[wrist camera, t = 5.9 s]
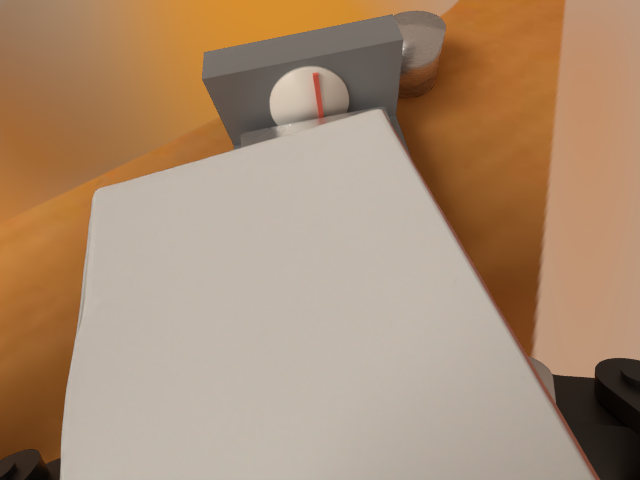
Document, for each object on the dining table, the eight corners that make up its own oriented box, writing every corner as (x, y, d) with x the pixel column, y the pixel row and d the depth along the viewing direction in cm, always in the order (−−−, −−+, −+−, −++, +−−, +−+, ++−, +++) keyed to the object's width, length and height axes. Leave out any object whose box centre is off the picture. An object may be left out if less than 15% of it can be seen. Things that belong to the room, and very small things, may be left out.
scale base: (246, 304, 19) (189, 248, 13) (243, 141, 25) (203, 52, 19) (439, 271, 18) (475, 197, 12) (385, 114, 25) (392, 14, 19)
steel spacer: (385, 103, 25) (388, 52, 22) (373, 68, 28) (374, 18, 24) (442, 92, 25) (454, 39, 22) (425, 58, 27) (434, 5, 24)
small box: (438, 474, 14) (750, 703, 3) (296, 523, 14) (-17, 985, 2) (372, 300, 18) (383, 95, 7) (260, 335, 18) (78, 187, 6)
